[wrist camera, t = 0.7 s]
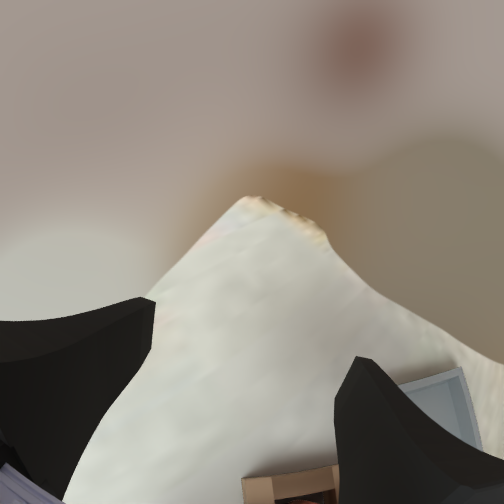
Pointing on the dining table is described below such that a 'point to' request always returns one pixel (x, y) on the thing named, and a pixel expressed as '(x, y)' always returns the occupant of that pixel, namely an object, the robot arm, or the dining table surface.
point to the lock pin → (301, 502)
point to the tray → (447, 403)
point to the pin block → (293, 485)
